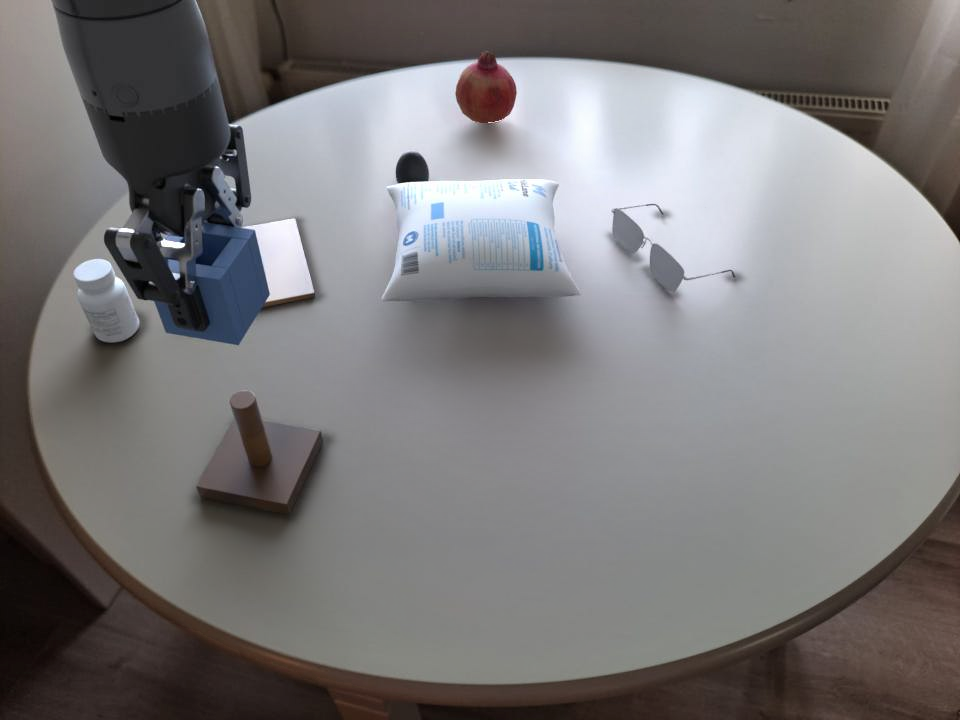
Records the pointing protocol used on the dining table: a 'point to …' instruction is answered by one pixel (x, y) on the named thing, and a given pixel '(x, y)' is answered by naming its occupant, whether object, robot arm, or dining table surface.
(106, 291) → the pill bottle
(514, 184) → the pouch
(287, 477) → the dowel stand
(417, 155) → the black rounded dome
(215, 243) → the blue pencil cup
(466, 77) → the fruit
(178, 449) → the dining table surface
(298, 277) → the wooden board
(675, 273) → the eyeglasses
